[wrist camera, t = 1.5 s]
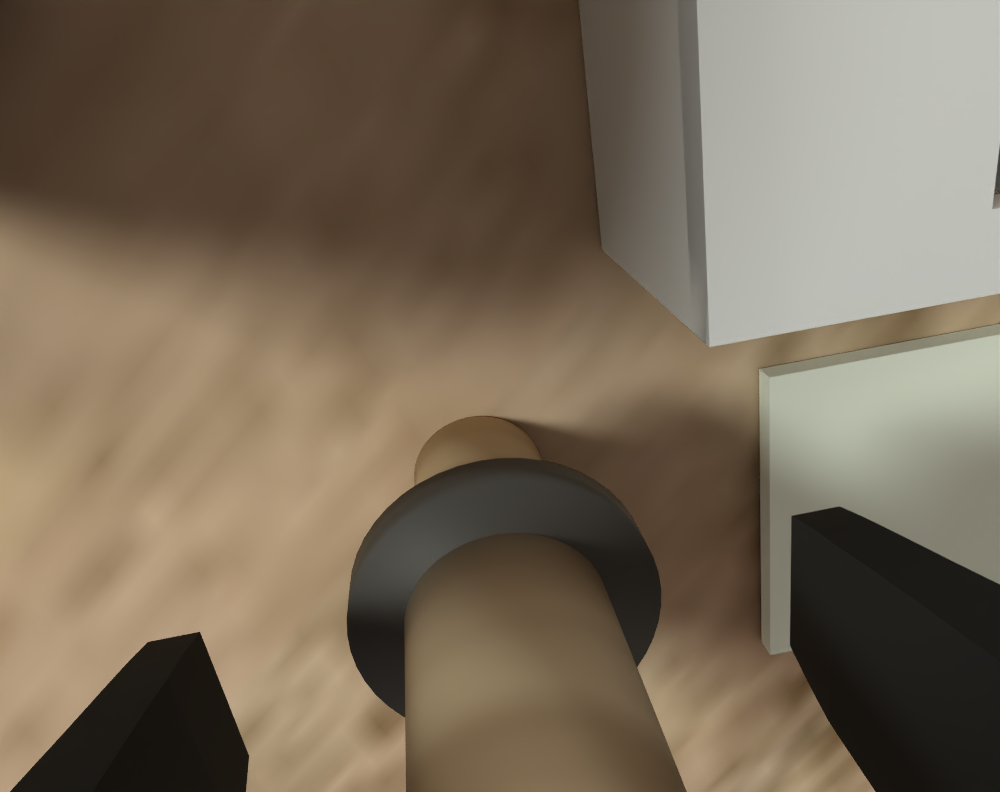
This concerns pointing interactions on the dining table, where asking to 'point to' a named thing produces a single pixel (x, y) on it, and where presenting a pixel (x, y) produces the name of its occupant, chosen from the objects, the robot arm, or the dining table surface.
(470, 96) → the dining table surface
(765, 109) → the box
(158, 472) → the dining table surface
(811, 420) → the rest pad
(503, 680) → the stylus
